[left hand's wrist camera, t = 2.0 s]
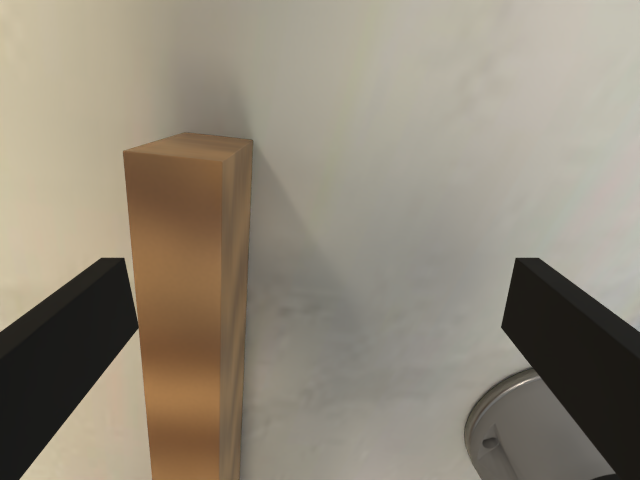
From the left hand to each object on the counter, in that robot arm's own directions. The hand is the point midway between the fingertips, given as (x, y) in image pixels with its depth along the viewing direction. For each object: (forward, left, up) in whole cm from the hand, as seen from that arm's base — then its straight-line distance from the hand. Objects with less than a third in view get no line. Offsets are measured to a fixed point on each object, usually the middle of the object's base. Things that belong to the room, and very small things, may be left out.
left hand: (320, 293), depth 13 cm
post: (+17, -21, -15) cm, 31 cm away
